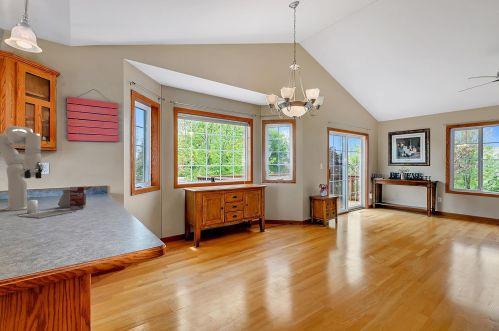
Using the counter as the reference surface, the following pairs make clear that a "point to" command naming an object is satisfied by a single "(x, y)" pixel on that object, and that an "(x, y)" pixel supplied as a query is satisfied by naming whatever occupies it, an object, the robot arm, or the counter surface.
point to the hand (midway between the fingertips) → (32, 178)
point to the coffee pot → (66, 199)
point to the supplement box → (77, 198)
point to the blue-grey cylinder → (32, 206)
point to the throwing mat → (46, 214)
